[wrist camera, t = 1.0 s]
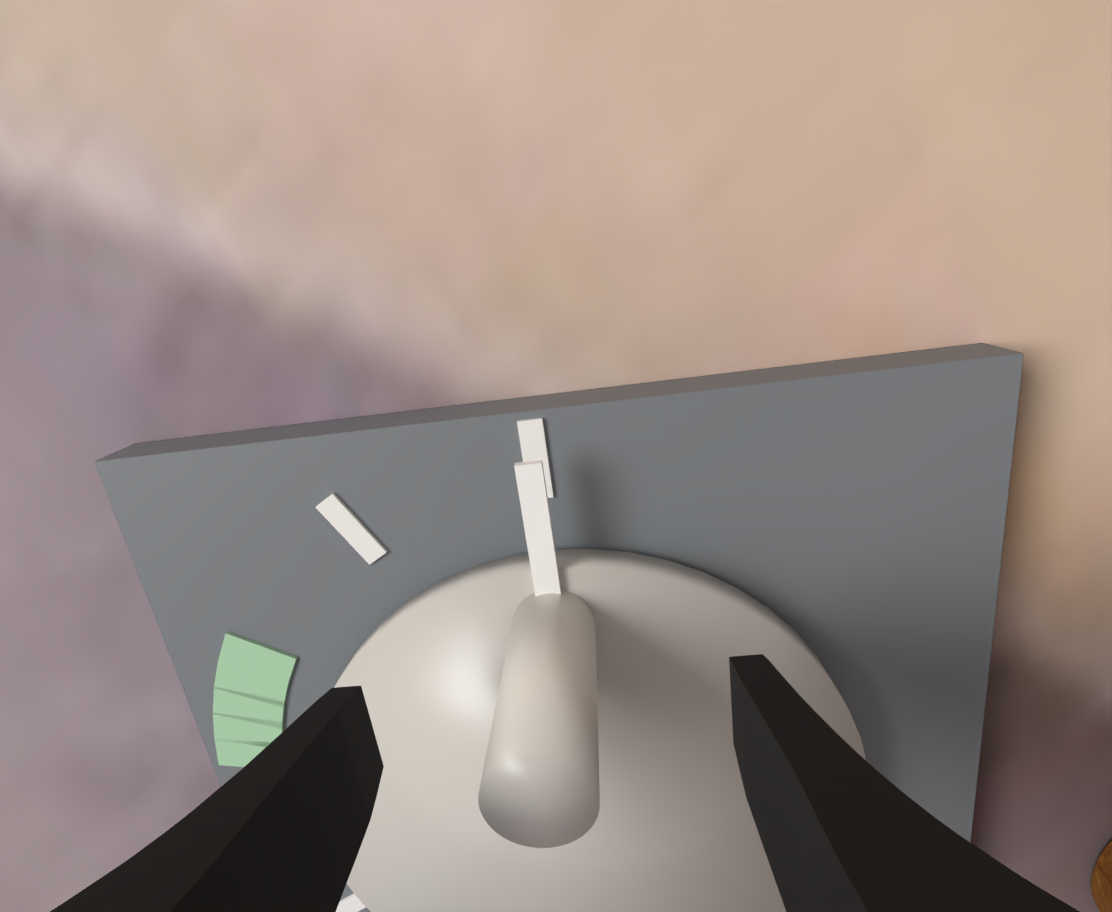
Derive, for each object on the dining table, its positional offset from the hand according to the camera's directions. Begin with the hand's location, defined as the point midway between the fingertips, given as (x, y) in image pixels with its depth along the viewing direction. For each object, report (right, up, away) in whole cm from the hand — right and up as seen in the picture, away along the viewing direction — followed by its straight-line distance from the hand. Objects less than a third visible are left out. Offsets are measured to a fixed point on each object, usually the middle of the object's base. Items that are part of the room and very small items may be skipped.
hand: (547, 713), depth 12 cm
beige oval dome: (+1, -3, +5) cm, 6 cm away
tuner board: (+1, -4, +7) cm, 8 cm away
